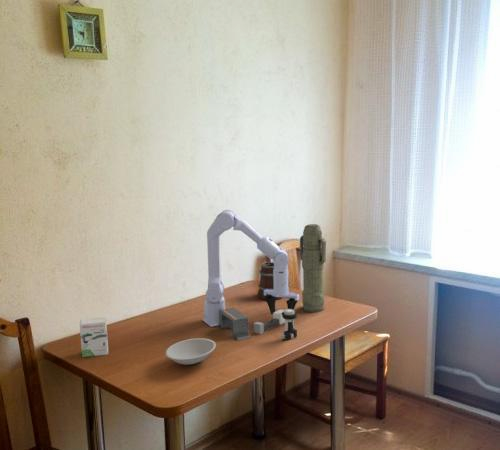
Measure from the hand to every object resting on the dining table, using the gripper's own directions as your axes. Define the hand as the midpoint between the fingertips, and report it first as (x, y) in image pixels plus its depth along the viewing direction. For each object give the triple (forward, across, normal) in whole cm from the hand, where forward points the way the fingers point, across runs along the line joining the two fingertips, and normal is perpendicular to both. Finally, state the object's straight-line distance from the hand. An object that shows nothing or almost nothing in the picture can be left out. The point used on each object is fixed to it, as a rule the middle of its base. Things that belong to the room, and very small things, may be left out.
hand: (281, 315), depth 199 cm
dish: (+3, -8, -46) cm, 47 cm away
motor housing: (+2, -11, -17) cm, 21 cm away
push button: (+2, +10, -14) cm, 17 cm away
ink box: (+3, -42, -56) cm, 70 cm away
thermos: (+2, +5, +19) cm, 20 cm away
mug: (+3, -18, +27) cm, 33 cm away
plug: (+2, -1, -7) cm, 7 cm away
